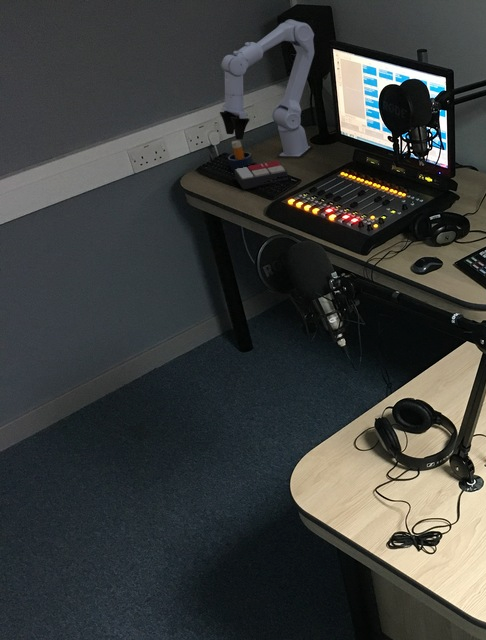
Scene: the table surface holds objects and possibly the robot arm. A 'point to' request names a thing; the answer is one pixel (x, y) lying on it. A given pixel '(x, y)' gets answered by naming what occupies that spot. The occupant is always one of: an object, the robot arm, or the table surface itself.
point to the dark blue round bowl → (240, 160)
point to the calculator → (259, 174)
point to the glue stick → (238, 150)
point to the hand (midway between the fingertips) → (234, 136)
